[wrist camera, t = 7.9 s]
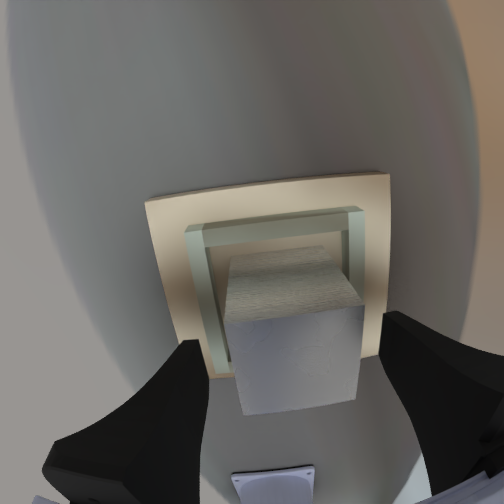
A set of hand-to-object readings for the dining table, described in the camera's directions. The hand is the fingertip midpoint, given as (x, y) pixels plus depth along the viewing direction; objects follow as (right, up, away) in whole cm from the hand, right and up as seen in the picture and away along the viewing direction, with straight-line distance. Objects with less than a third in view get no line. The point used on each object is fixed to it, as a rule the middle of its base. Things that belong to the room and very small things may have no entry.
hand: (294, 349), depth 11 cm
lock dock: (0, +2, +6) cm, 6 cm away
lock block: (0, +2, +4) cm, 5 cm away
